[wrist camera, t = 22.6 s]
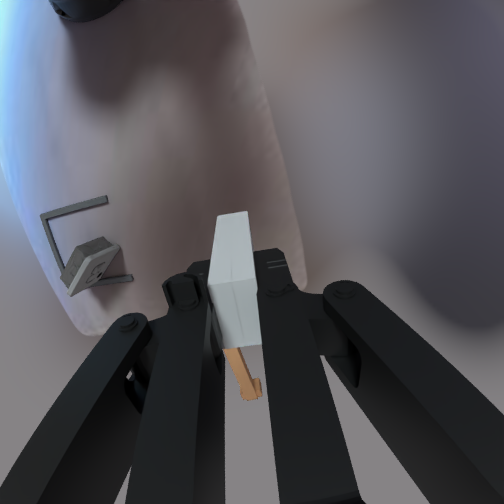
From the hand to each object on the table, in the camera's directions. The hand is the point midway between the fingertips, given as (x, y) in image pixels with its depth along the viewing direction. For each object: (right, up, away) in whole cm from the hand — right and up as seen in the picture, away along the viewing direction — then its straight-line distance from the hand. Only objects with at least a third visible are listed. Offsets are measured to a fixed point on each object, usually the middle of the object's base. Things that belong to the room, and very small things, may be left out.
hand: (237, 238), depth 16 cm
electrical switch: (-27, -1, +35) cm, 44 cm away
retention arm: (-1, -16, +29) cm, 33 cm away
